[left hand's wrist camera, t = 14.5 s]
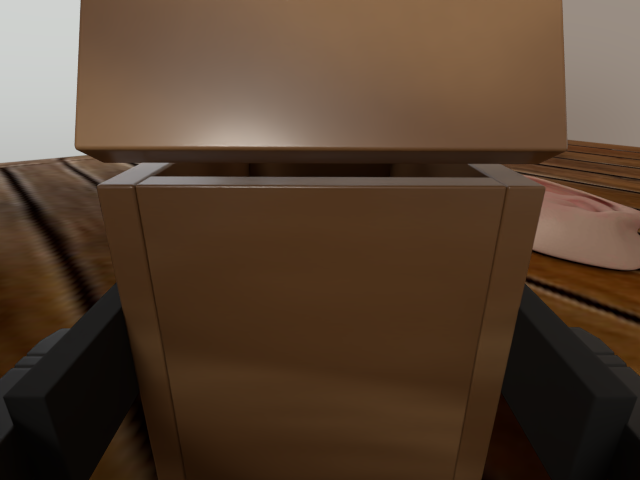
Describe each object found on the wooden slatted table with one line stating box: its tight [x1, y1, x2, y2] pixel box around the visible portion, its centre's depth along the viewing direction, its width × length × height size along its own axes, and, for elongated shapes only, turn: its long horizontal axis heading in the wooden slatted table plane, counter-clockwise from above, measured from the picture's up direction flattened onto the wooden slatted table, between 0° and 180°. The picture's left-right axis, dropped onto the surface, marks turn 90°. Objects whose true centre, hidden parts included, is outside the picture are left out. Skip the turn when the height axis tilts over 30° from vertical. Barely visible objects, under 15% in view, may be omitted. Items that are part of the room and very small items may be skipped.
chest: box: [97, 163, 546, 480], centre depth 18 cm, size 16×10×11 cm, turn 0°
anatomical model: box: [523, 175, 640, 270], centre depth 35 cm, size 13×4×12 cm
